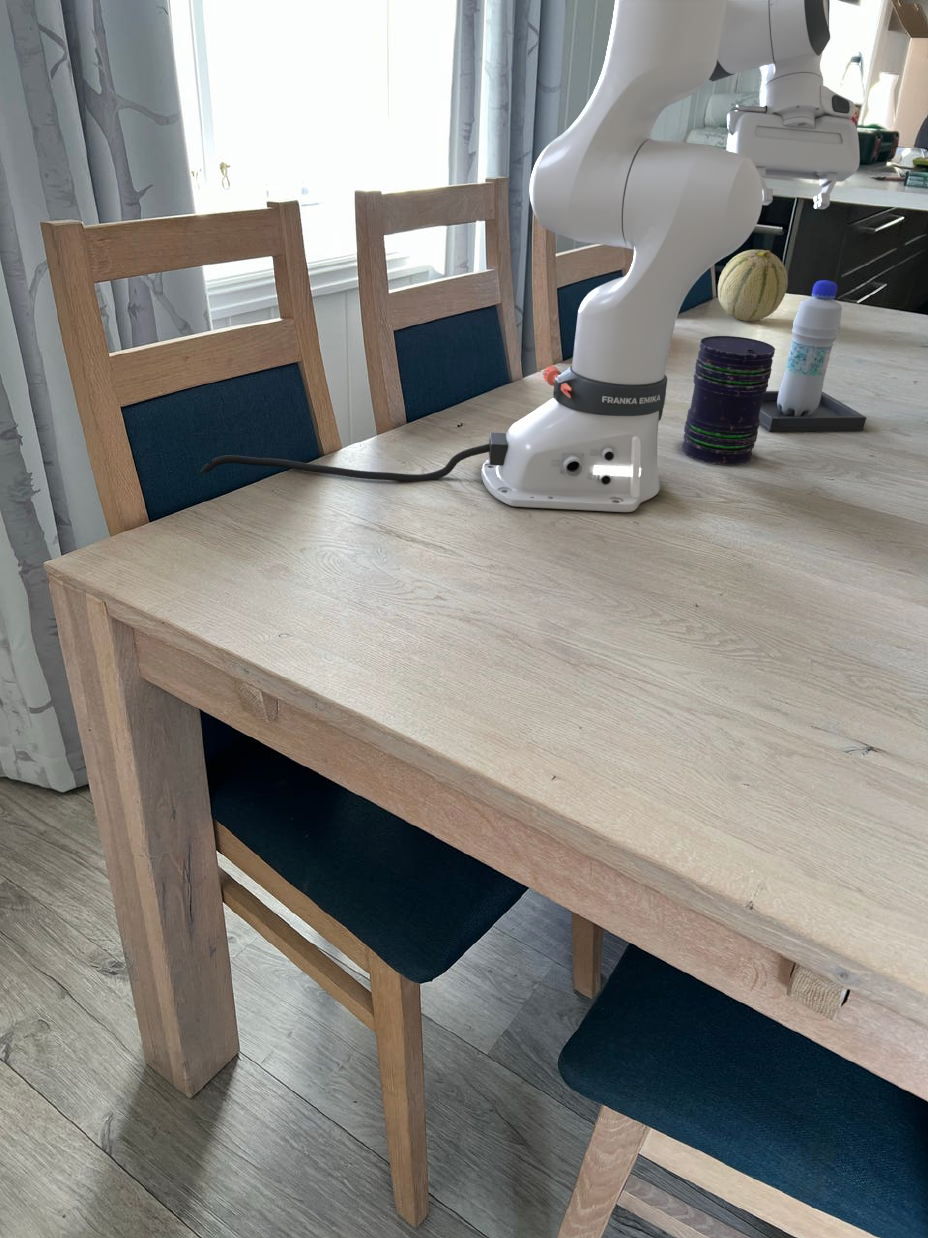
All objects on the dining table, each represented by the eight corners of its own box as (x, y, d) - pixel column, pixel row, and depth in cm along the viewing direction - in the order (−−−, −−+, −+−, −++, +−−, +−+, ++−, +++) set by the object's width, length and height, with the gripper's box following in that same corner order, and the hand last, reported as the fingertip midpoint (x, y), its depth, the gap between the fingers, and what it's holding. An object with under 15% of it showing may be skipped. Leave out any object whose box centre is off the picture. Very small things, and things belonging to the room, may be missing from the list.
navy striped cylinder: (667, 443, 134) (685, 336, 126) (725, 438, 137) (746, 334, 130) (706, 468, 126) (728, 356, 118) (767, 462, 129) (791, 353, 122)
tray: (769, 431, 141) (772, 418, 140) (730, 403, 152) (733, 390, 151) (863, 430, 144) (866, 417, 143) (818, 403, 155) (821, 390, 154)
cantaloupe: (738, 309, 217) (751, 240, 209) (792, 323, 207) (809, 251, 200) (697, 316, 209) (710, 244, 201) (753, 330, 199) (768, 255, 192)
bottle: (820, 421, 144) (854, 286, 134) (775, 416, 145) (805, 282, 135) (814, 409, 150) (847, 278, 140) (771, 404, 151) (801, 274, 141)
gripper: (738, 91, 131) (741, 191, 132) (865, 104, 136) (867, 201, 137) (716, 113, 138) (718, 209, 138) (837, 125, 143) (839, 217, 143)
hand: (793, 205), depth 138 cm, fingers open, 8 cm apart
